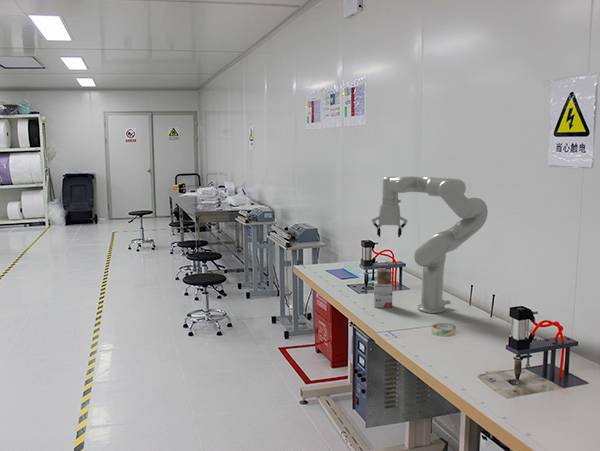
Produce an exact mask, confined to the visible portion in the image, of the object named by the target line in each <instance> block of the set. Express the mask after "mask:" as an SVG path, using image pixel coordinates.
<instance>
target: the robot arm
mask: <svg viewBox="0 0 600 451" xmlns="http://www.w3.org/2000/svg"><path fill="white" fill-rule="evenodd" d="M466 189H467V187H466V183H465V182H464V181H463V180H461V179H459V178H449V177H448V178H445V177H427V176H426V177H425V176H413V175H412V176H400V177H397V176H384V177H383V178H382V202H381V204H380V207H379V213H378V216H376V217H373V218H372V219H371V222H372V224H373V225H374V226H375V228H376V236H378V238H380V237H381V227H382V226H397V227H398V228H397V237H398V238H401V236H402V229H403V228H404V227H405V226H406V225H407V223H408V219H406V218H404V217H402V216H401V209H400V205H399V204H400V203H402V200H401V199H399V194H406V193H424V194H428V196H430V197H440V198H442V200H443V201H444V202H445V204H446V205H447V206H448V207H449V209H451V210H452V212H453V213H454V214H455V215H456V216H457V217H459V218H461V220H459V221H458V222H456V223H455V224H454V225H453V226H451V227H450V228H449V229H447V230H443V231H439V232H437V233H435V234H433V235H432V236H430V238H428V239H427V240H426V241H424V242H423V243H422V244H421V245H420V246H418V247H417V249H416V250H415V251H414V254H413V255H414V256H413V257H414V262H415V263H416V264H417V265H418V266H420V267H422V274H421V275H422V278H421V303H420V304H419V305H417V309H418V310H419V311H420V312H424V313H428V314H442V313H444V312H446V307H445V306H446V305H451V300H449V299H448V300H446V299H443V293H444V291H443V289H444V288H443V287H444V270H445V263H446V257H447V253H450V252H453V251H455V250H457V249H458V248H459V247H460V246H461V245H462V244H463V243H465V242H466V241H468V240H469V239H470V238H471V237H472V236H474V235H475V234H476V233H477V232H478V231H479V230H480V229H481V228H483V227H484V225H485V223H486V222H487V218H488V213H489V212H488V211H489V210H488V205H487V204H486V202H485V201H484V200H483V199H482V198H478V197H470V198H468V197H467V196H466V195H465V192H466V191H467V190H466ZM376 221H378V224H377V223H376ZM401 221H403V223H402V224H401Z"/></svg>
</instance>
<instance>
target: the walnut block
mask: <svg viewBox="0 0 600 451" xmlns="http://www.w3.org/2000/svg"><path fill="white" fill-rule="evenodd" d="M391 271H392V270H391V269H390V268H377V269H376V282H377V283H378V284H391V282H392V277H391V276H392V272H391Z"/></svg>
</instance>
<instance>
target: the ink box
mask: <svg viewBox="0 0 600 451" xmlns="http://www.w3.org/2000/svg"><path fill="white" fill-rule="evenodd" d="M373 306H374V308H390V309H391V308H393V283H392V281H391V284H378V283H377V281H373Z"/></svg>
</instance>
